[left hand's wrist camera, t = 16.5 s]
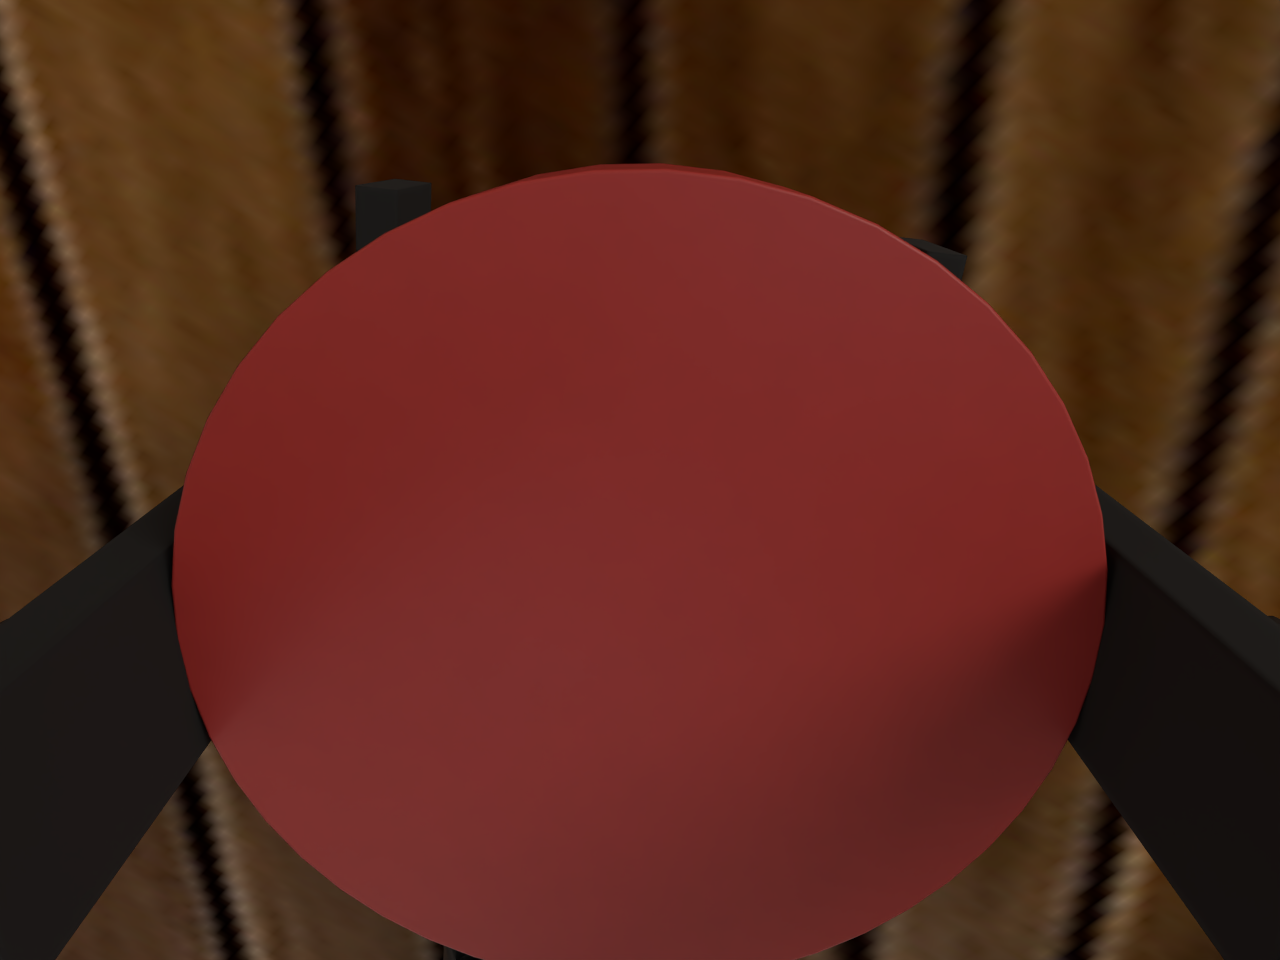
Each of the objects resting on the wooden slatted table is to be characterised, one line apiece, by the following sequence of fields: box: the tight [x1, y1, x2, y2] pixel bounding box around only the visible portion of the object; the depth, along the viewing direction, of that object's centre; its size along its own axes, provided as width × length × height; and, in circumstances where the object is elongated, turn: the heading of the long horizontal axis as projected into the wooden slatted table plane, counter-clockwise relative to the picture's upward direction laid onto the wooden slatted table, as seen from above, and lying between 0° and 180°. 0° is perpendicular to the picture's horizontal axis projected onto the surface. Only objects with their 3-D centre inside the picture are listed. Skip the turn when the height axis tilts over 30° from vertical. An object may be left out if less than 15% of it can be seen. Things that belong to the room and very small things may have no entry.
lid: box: [172, 163, 1108, 960], centre depth 11 cm, size 11×11×2 cm
